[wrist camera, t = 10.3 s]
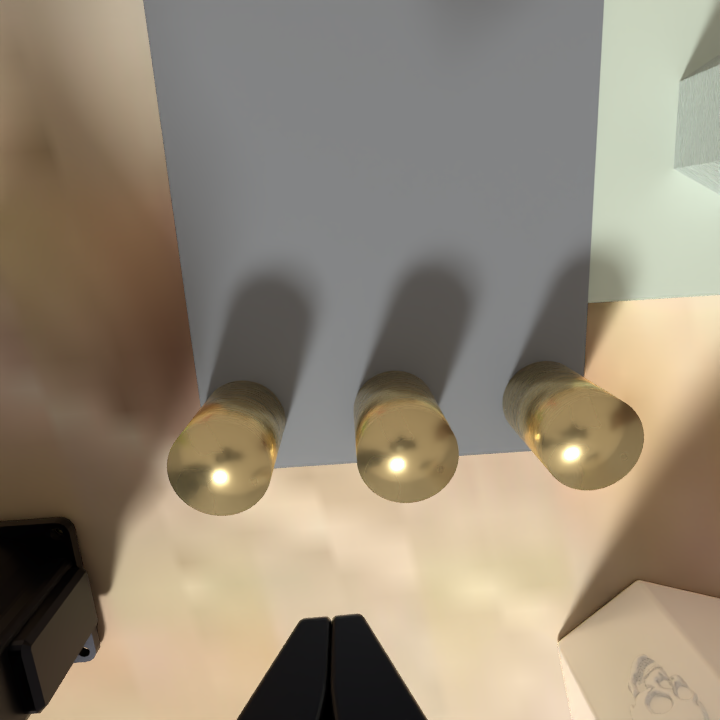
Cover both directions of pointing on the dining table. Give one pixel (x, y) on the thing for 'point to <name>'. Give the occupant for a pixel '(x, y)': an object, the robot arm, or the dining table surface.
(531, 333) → the board
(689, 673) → the jar
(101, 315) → the dining table surface
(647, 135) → the mat
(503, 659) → the dining table surface
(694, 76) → the white faceted block
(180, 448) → the spacers
